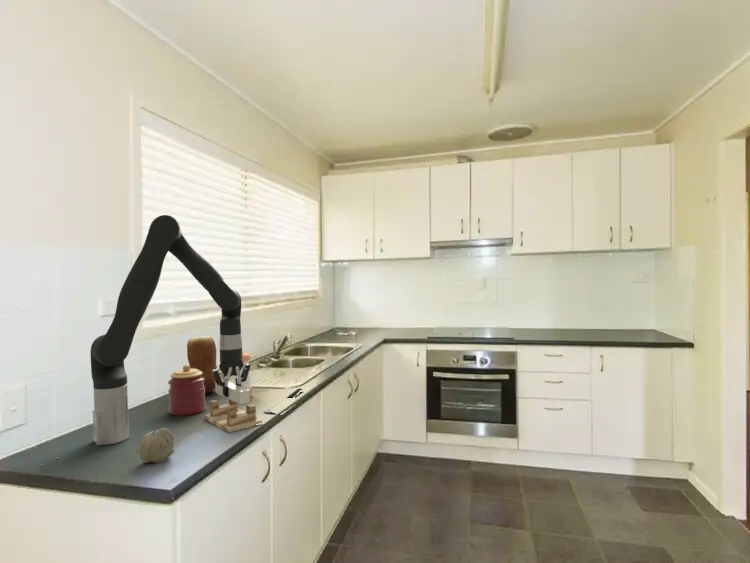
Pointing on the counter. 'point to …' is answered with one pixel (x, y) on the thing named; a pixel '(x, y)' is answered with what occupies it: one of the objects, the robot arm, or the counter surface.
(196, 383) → the canister
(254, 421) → the wooden plate with pegs
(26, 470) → the counter surface
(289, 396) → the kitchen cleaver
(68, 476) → the counter surface
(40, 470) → the counter surface
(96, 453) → the counter surface
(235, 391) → the cream white rectangular bar
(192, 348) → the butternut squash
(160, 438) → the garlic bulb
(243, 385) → the salt shaker
